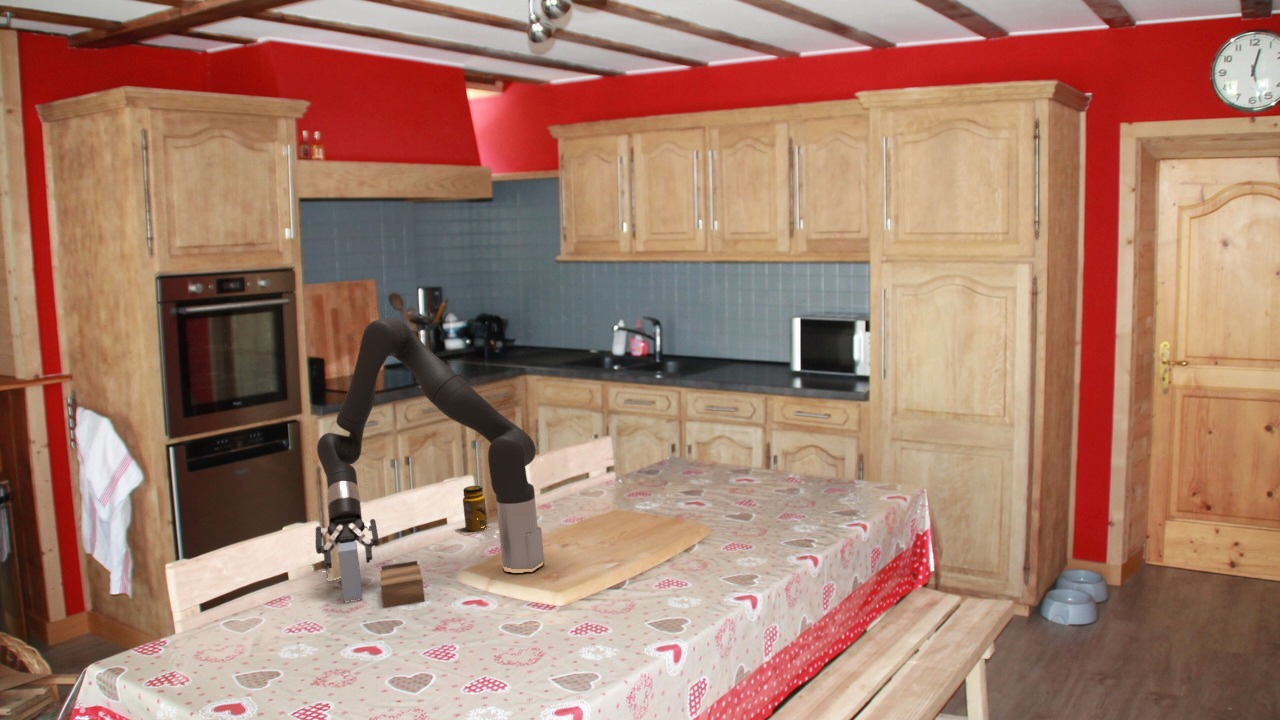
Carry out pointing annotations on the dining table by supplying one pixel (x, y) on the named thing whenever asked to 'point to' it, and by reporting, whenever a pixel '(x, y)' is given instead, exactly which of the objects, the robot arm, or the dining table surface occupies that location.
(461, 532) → the condiment
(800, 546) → the dining table surface
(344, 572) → the tall grey pillar
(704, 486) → the dining table surface
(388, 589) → the wooden grain block
